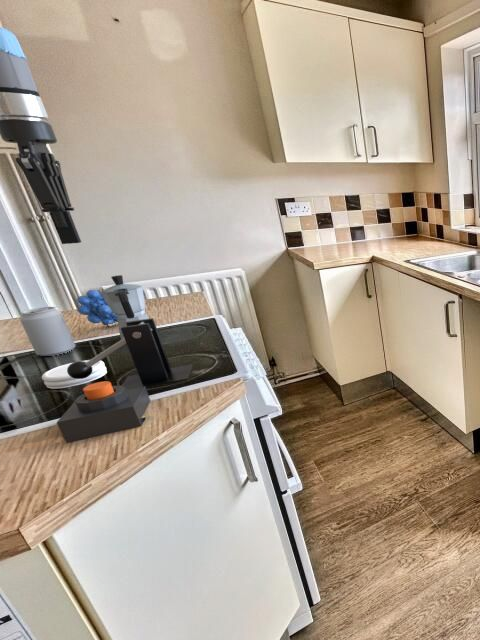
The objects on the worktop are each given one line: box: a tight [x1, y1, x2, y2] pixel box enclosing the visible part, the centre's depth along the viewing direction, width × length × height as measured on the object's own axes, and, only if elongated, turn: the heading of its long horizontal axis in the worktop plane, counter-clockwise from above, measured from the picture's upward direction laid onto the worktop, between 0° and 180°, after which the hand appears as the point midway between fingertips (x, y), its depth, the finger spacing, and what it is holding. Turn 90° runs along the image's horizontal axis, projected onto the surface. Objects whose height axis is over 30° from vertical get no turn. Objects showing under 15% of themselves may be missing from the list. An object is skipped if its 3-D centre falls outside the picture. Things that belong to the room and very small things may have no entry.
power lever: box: [67, 322, 152, 379], centre depth 87 cm, size 16×4×4 cm, turn 119°
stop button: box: [82, 380, 114, 400], centre depth 75 cm, size 4×4×2 cm
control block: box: [56, 385, 151, 444], centre depth 76 cm, size 10×9×6 cm
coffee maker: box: [99, 274, 150, 340], centre depth 117 cm, size 15×9×18 cm, turn 42°
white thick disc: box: [41, 359, 108, 390], centre depth 93 cm, size 10×10×4 cm
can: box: [19, 306, 77, 357], centre depth 109 cm, size 8×8×12 cm
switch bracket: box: [121, 317, 195, 390], centre depth 90 cm, size 12×9×14 cm
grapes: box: [76, 289, 118, 326], centre depth 129 cm, size 12×7×12 cm, turn 134°
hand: (71, 243), depth 91 cm, fingers closed
